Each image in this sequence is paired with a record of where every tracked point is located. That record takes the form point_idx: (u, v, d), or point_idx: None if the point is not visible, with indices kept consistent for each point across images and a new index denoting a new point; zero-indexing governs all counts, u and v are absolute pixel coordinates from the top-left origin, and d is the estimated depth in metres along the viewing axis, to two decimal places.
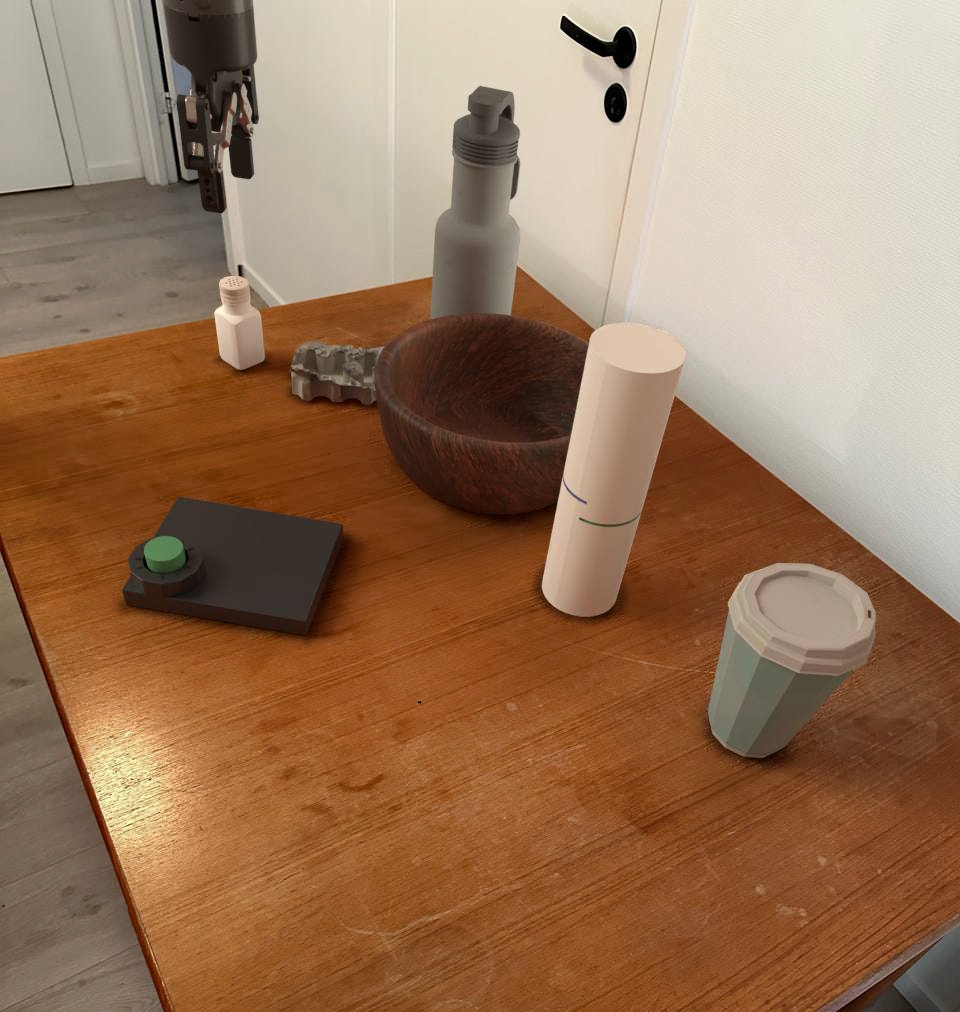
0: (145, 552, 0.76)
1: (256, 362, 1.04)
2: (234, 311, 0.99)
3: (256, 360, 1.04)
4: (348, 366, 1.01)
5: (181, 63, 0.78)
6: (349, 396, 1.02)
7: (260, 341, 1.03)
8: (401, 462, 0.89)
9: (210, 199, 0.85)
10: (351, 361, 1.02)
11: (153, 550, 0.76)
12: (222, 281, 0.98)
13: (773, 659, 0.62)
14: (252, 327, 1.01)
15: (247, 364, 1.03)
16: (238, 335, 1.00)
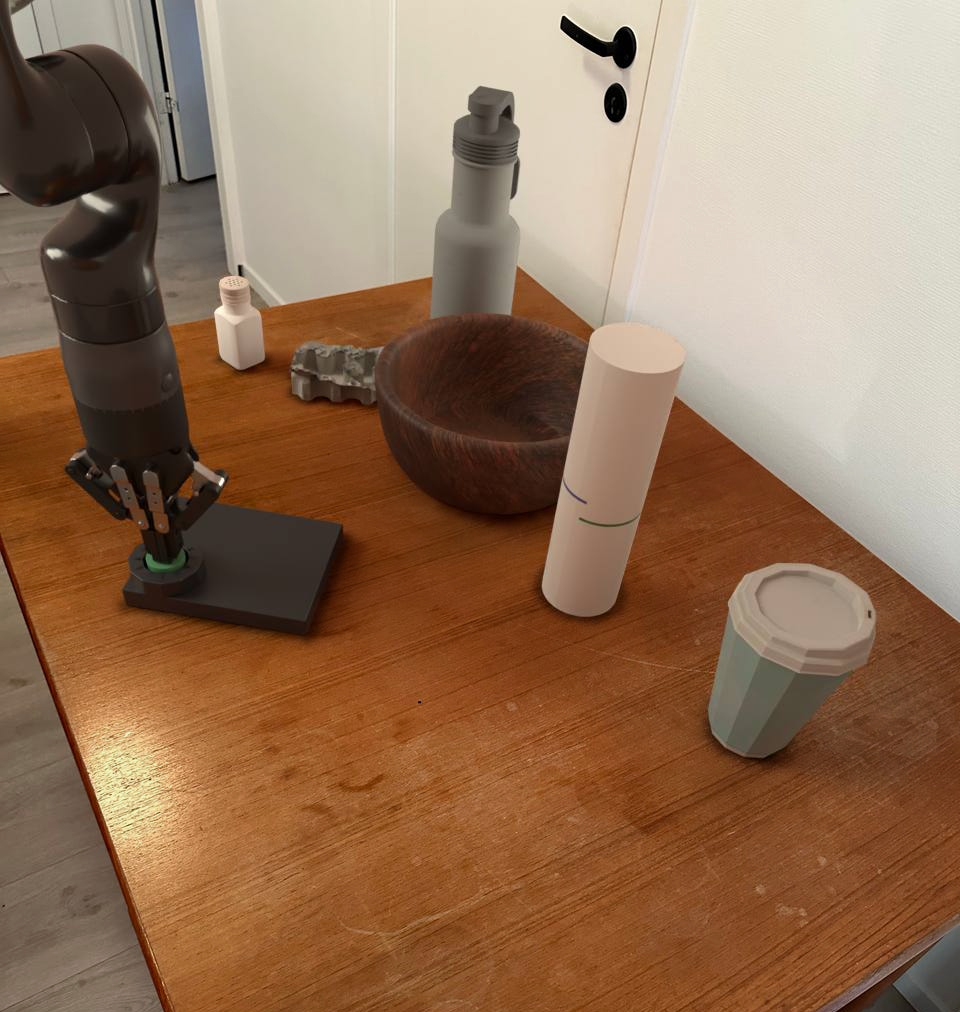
0: (147, 560, 0.76)
1: (256, 362, 1.04)
2: (234, 311, 0.99)
3: (256, 360, 1.04)
4: (348, 366, 1.01)
5: None
6: (349, 396, 1.02)
7: (260, 341, 1.03)
8: (401, 462, 0.89)
9: None
10: (351, 361, 1.02)
11: None
12: (222, 281, 0.98)
13: (773, 659, 0.62)
14: (252, 327, 1.01)
15: (247, 364, 1.03)
16: (238, 335, 1.00)
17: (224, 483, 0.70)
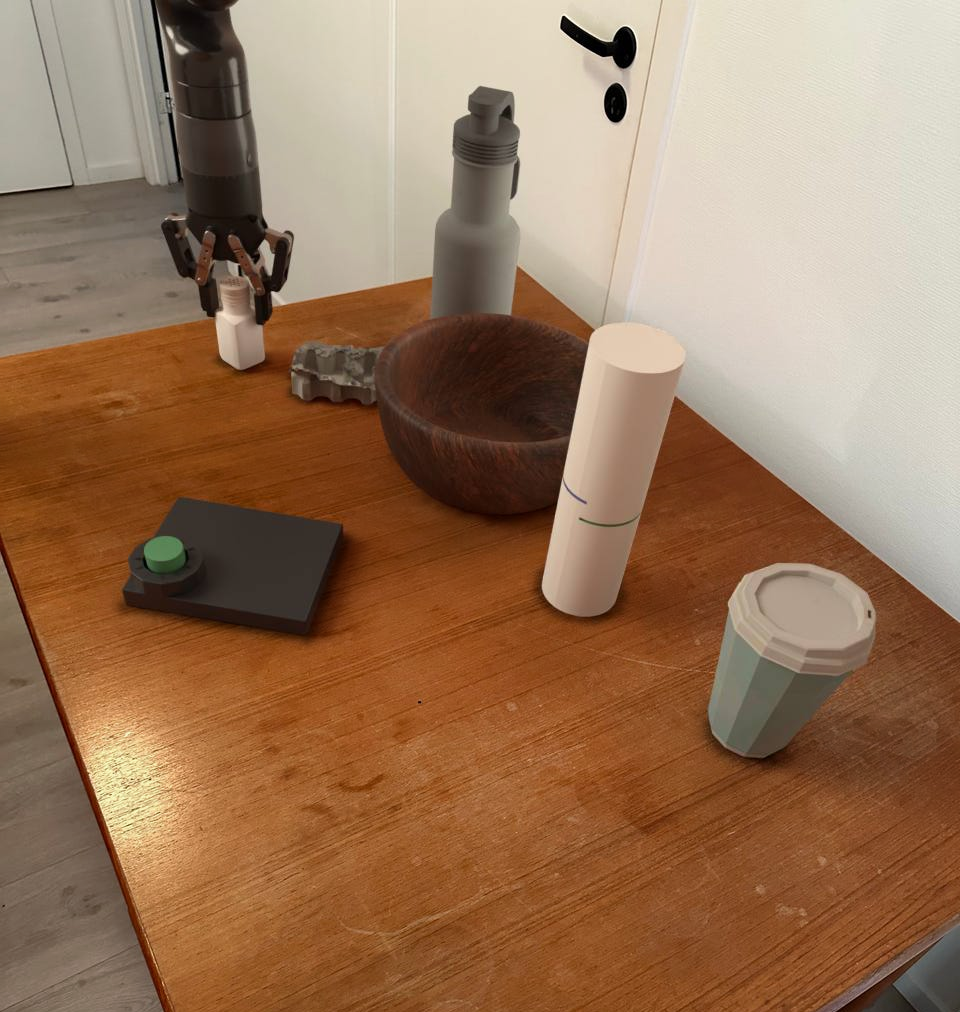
0: (145, 552, 0.76)
1: (256, 362, 1.04)
2: (234, 311, 0.99)
3: (256, 360, 1.04)
4: (348, 366, 1.01)
5: None
6: (349, 396, 1.02)
7: (260, 341, 1.03)
8: (401, 462, 0.89)
9: None
10: (351, 361, 1.02)
11: (153, 550, 0.76)
12: (222, 281, 0.98)
13: (773, 659, 0.62)
14: (252, 327, 1.01)
15: (247, 364, 1.03)
16: (238, 335, 1.00)
17: (290, 237, 0.94)
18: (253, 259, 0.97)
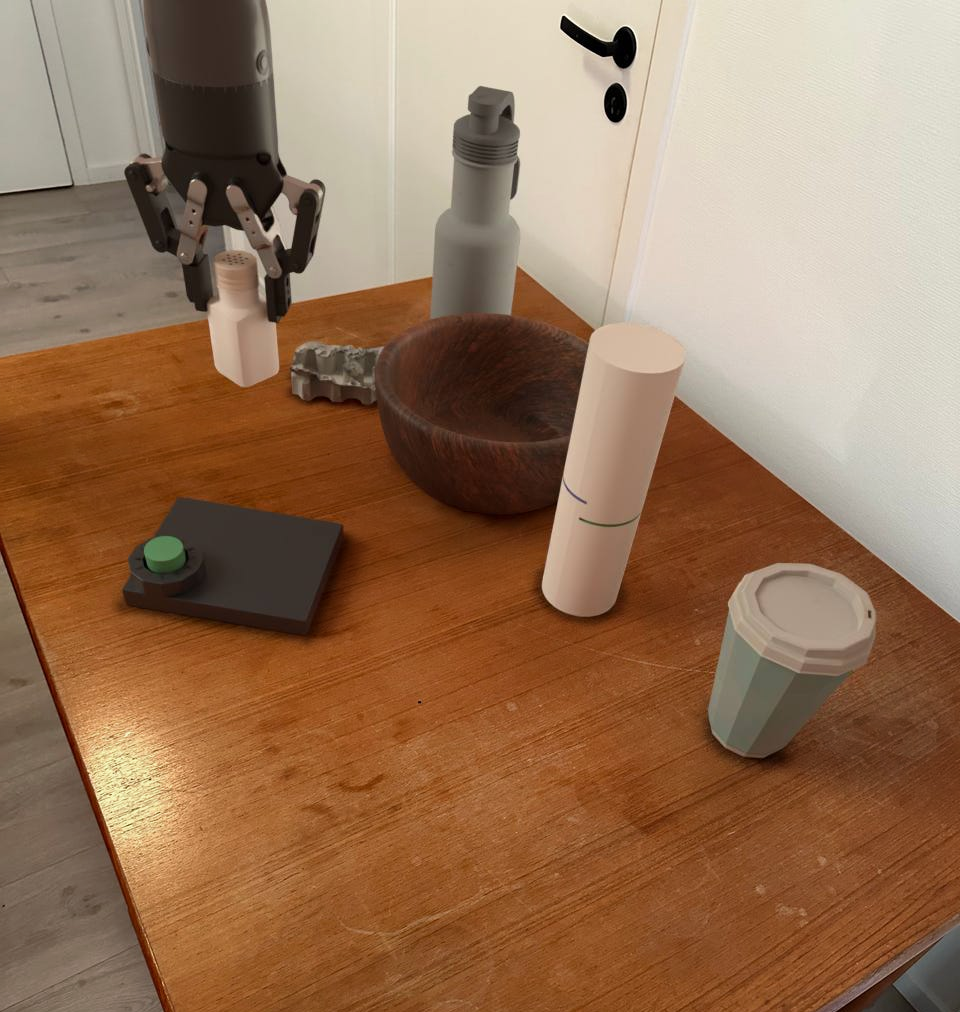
0: (145, 552, 0.76)
1: (267, 376, 0.73)
2: (236, 302, 0.67)
3: (267, 373, 0.72)
4: (348, 366, 1.01)
5: None
6: (349, 396, 1.02)
7: (273, 346, 0.71)
8: (401, 462, 0.89)
9: None
10: (351, 361, 1.02)
11: (153, 550, 0.76)
12: (217, 258, 0.66)
13: (773, 659, 0.62)
14: (261, 325, 0.69)
15: (254, 379, 0.72)
16: (242, 337, 0.69)
17: (320, 190, 0.62)
18: (263, 224, 0.65)
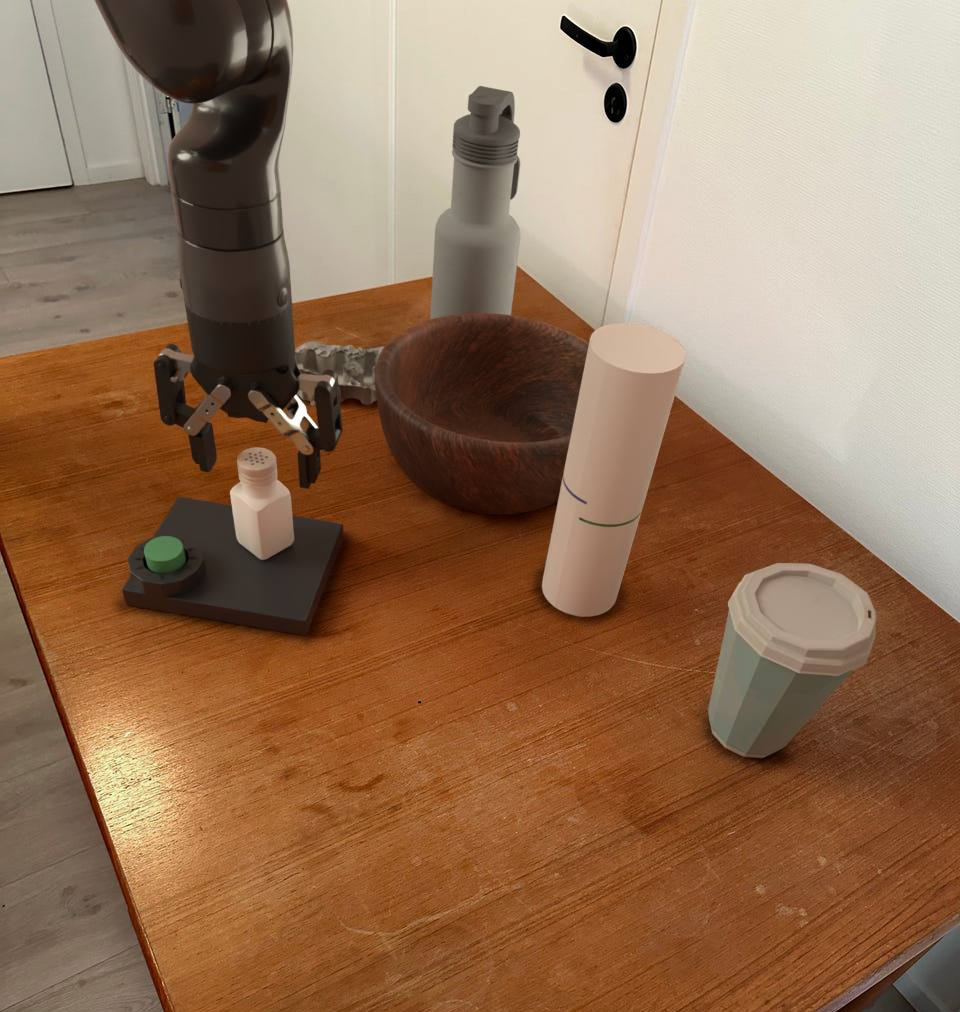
0: (145, 552, 0.76)
1: (283, 548, 0.81)
2: (257, 494, 0.76)
3: (283, 545, 0.81)
4: (348, 366, 1.01)
5: None
6: (349, 396, 1.02)
7: (289, 523, 0.80)
8: (401, 462, 0.89)
9: None
10: (351, 361, 1.02)
11: (153, 550, 0.76)
12: (240, 457, 0.75)
13: (773, 659, 0.62)
14: (279, 510, 0.78)
15: (272, 552, 0.80)
16: (261, 523, 0.77)
17: (331, 378, 0.68)
18: (290, 411, 0.72)
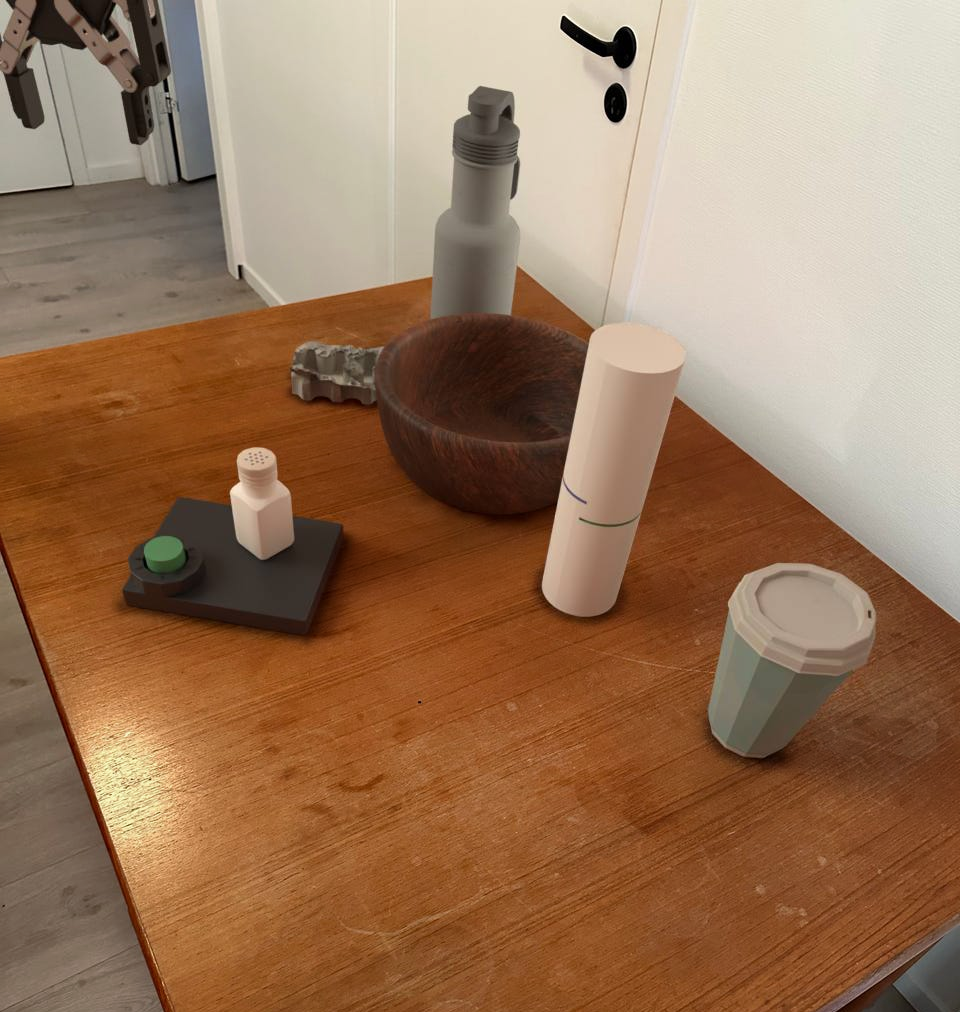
0: (145, 552, 0.76)
1: (283, 548, 0.81)
2: (257, 494, 0.76)
3: (283, 545, 0.81)
4: (348, 366, 1.01)
5: None
6: (349, 396, 1.02)
7: (289, 523, 0.80)
8: (401, 462, 0.89)
9: None
10: (351, 361, 1.02)
11: (153, 550, 0.76)
12: (240, 457, 0.75)
13: (773, 659, 0.62)
14: (279, 510, 0.78)
15: (272, 552, 0.80)
16: (261, 523, 0.77)
17: None
18: None
